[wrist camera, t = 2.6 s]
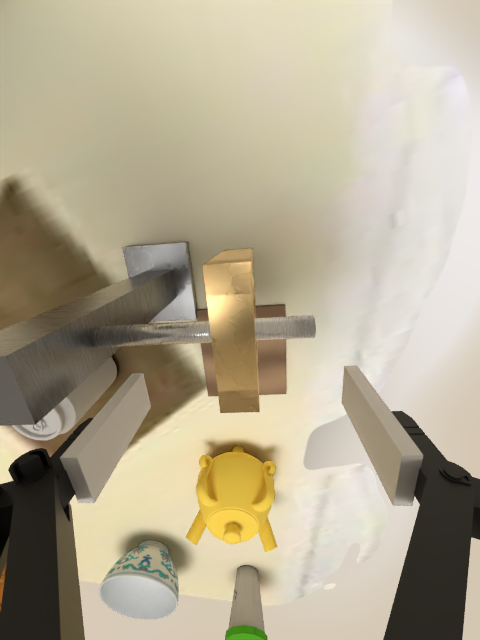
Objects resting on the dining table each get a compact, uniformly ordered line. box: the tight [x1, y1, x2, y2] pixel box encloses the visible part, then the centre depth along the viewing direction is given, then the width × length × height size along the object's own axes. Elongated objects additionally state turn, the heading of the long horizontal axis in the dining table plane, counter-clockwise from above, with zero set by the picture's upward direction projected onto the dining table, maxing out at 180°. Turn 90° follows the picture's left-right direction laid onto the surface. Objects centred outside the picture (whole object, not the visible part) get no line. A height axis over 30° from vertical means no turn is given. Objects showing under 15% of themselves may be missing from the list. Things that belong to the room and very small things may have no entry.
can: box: [12, 357, 117, 440], centre depth 33 cm, size 8×8×12 cm
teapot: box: [186, 446, 277, 552], centre depth 40 cm, size 14×14×11 cm
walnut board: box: [196, 305, 286, 396], centre depth 36 cm, size 14×12×1 cm
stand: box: [0, 242, 316, 425], centre depth 22 cm, size 10×20×24 cm, turn 94°
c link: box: [202, 248, 259, 413], centre depth 19 cm, size 9×2×10 cm, turn 4°
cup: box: [225, 565, 267, 640], centre depth 48 cm, size 8×8×15 cm
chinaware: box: [99, 540, 178, 620], centre depth 51 cm, size 15×15×8 cm
